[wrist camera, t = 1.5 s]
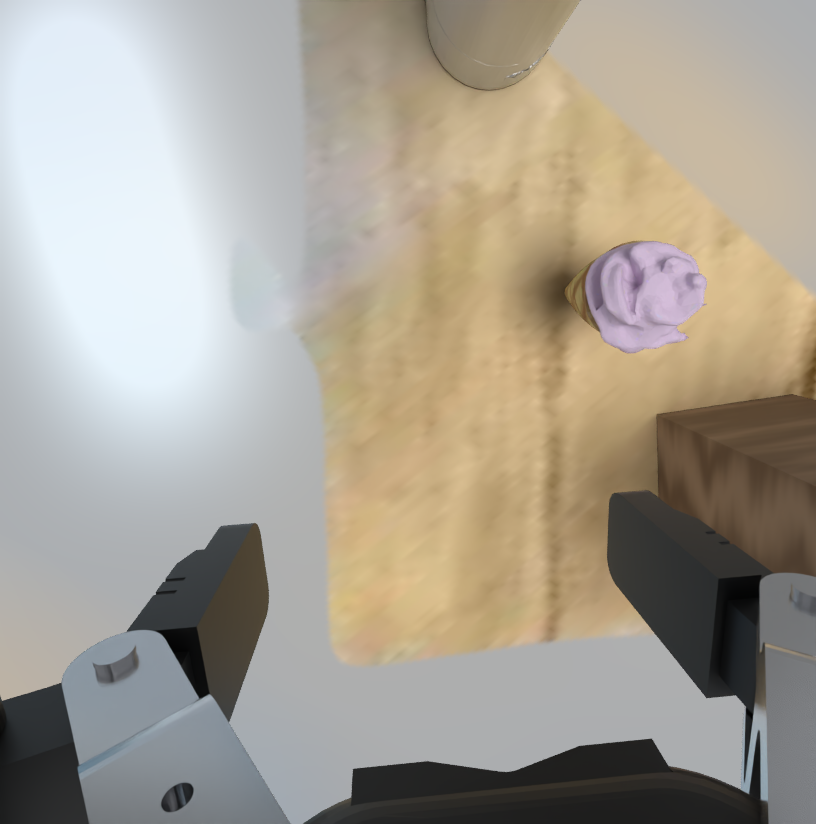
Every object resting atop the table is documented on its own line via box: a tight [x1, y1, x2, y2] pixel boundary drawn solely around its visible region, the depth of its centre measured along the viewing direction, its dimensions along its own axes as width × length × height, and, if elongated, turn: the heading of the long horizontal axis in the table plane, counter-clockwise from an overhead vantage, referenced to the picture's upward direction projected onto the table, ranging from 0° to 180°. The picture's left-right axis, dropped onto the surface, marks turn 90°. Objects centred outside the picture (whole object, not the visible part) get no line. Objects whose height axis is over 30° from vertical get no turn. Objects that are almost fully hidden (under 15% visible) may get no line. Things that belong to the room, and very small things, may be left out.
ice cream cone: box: [565, 241, 707, 353], centre depth 33 cm, size 7×6×15 cm
